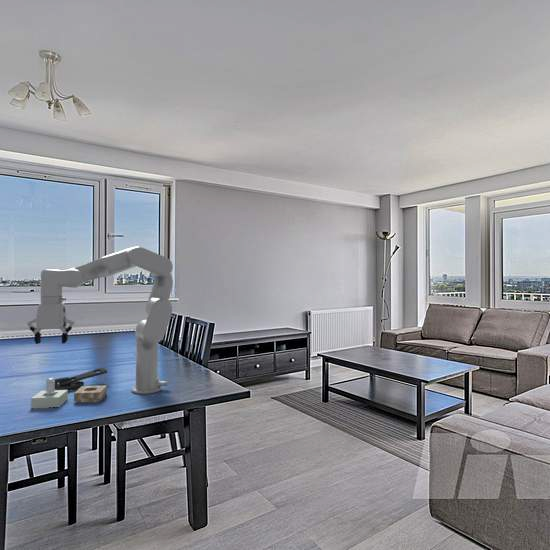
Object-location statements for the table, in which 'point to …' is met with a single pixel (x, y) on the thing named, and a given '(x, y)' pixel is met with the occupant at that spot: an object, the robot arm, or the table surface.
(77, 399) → the birch mount block
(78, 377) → the zipper pull
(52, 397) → the sage socket block
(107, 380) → the table surface
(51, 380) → the metal pin
